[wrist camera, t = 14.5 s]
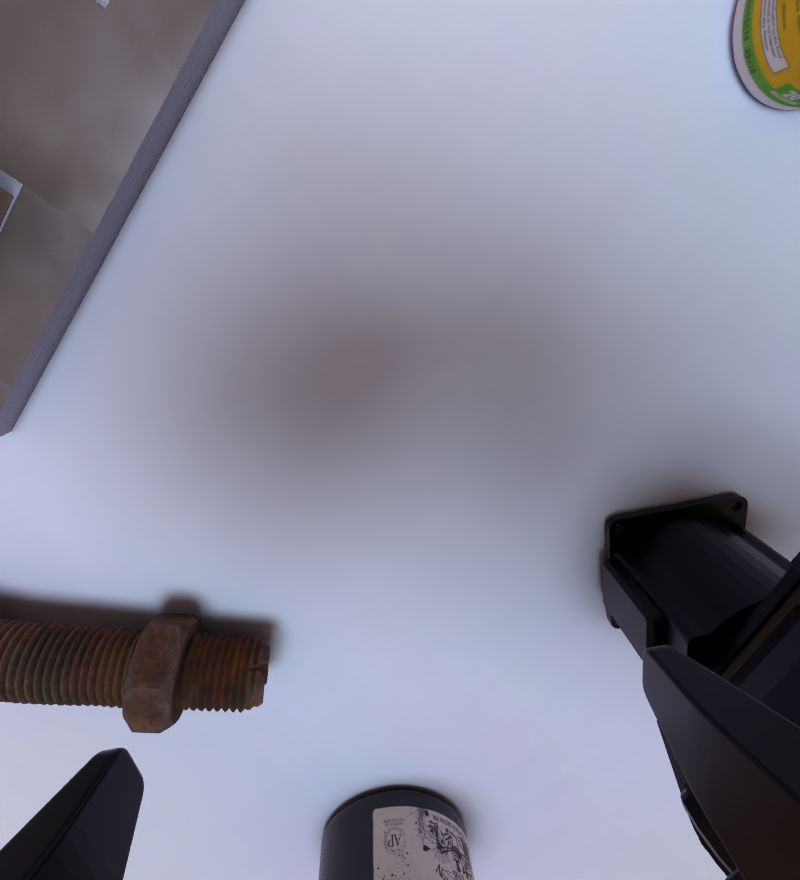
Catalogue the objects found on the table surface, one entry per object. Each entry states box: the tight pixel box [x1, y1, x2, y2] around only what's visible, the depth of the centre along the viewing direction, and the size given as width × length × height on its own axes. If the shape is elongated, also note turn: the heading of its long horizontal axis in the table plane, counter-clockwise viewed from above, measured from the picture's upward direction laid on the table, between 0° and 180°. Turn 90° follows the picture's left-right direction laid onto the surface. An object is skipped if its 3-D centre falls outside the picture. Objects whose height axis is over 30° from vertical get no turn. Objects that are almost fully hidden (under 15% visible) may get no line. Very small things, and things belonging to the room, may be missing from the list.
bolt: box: [0, 613, 270, 733], centre depth 21 cm, size 6×5×15 cm
